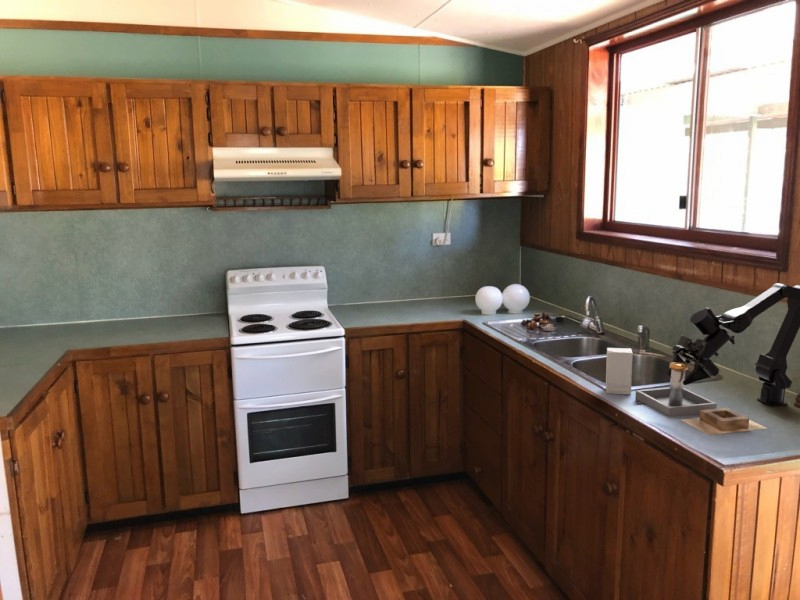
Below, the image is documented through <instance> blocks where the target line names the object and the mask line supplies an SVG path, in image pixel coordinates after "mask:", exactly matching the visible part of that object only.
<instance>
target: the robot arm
mask: <svg viewBox="0 0 800 600" xmlns="http://www.w3.org/2000/svg"><path fill="white" fill-rule="evenodd" d="M785 298H787V299H786V304H787V312H786V314H785V316H784V319H783V321H782V323H781V325H780V328H779V330H778V333H777V335H776V336H775V338H774V341H773V343H772V345H771V347H770V350H769V351H768V352H767V353H765V354H763V353H761V354H759V356H758V359H757V362H755V364H754V365H755V370H754V371H755V373H756V375H757V377H758V380H759V381H760V382H762V385H761V386H762V387H761V389H760V397H757V398H756V400H757V401H759V402H761V403H764V404H765V405H768V406H770V407H775V406H785V405H788V402H786V401H785V397H786V396H785V394H786V389H790V388H791V386H792V384H793V381H792V380H791V379H790V378H789V376H787V374H786V373H787V370H788V361H787V358H788V354H789V351H790V349H791V348H792V345H793V343H794V341H795V339H796V337H797V334H798V332H799V330H800V284H797V285H794V286H791V285H788V284H784V283H779V282H777V283H774V284H773V285H772V286H771V287H770V288H768V289H767V290H766V291H764V292H762V293H761V294H759V295H757V297H755V298H753V299H752V300H750V301H749V302H747V303H746V304H745V305H743V306H740V307H736V308H733V309H729V310H727V311H725V312H723V313H722V314H721V315H715V313H714V312H713V311H712V309H711V308H709V307H705V308H704V309H701V310H698V311H697V312H694V313H693V314H692V315H691V316H690V319H689V320H690V323H691V325H693V326H694V327H695V328H696V330H697V331H698V332H699V333H700V334H701V335H703V336H704V337H703V338H702V339H701V338H697V337H694V338H693V339H692V338H690V337H687V336H685V335H683V334H681V336H680V338H679V339H678V341H677V344H676V345H674V346H673V347H672V348H671V351H672V352H671V353H672V356H673V357H672V358H673V360H672V362H671V363H673V362H678V363H684V364H687V365H688V364H690V363H694V367H693V369H692V371H691V372H690V373H689V374H687V377H686V376H685V379H684V381H683V384H684V386H686V385H690V384H692V383H695V382H699V381H701V380H705V379H711V378H716V377H717V376H718V375H719V374H720V368H719V367H718V366H717V365H716V364H715V363H714V362H713V361H712V360H711V359H712V358H713V357H716V358H717V357H718V356H719V355H720V354H719V353H718V352H719V351H720V350H721V349H722V348H723V347H724V346H726V344H727V343H729V344H731V345H735V344H736V343H735V341H736V340H735V335H733V334H730V333H729V332H731V333H734V334H742V333H743V332H744V331H746V330H747V329H748V328H749V327H750V326H751V324H752V323H753V321H754V319H755V318H756V317H758V316H759V315H761V314H762V313H764V312H765V311H767V310H768V309H770V308H772V307H773V306H775V305H776V304H777V303H779V302H780V301H782V300H783V299H785ZM728 331H729V332H728ZM671 370H672V369H671V368H670V367H669V369H668V370H667V372H666V375H667V376H668V377H671Z"/></svg>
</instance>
